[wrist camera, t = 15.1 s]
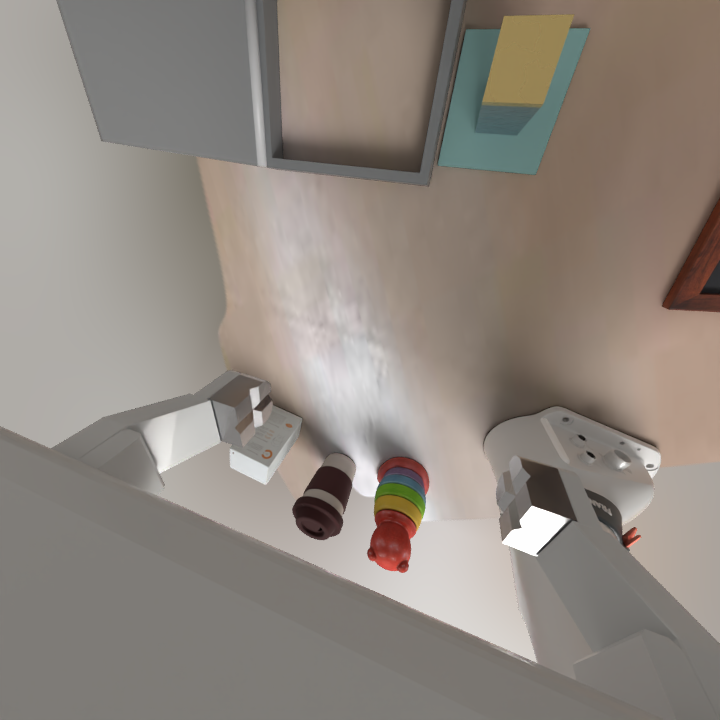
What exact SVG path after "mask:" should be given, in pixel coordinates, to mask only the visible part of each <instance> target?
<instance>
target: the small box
mask: <svg viewBox="0 0 720 720" xmlns="http://www.w3.org/2000/svg"><path fill="white" fill-rule="evenodd" d="M302 420H303V419H302V418H300V417H298V416H296V415H294V414H292V413H289V412H287V411H285V410H283V409H281V408H278V407H276V406H274V405H273V406H272V412H271V414H270V416H269V418H268V420H267V421H266V422H265V423H264V425H262V426H259V427H257V428H255V435H254V436H253V437H252V438H251V439H250V440H249V442H248V443H247V444H246V445H245V446H244V447H243V448H241V447H238V446H235V445H232V446H231V447H230V468H233V469H235V470H237V471H239V472H241V473H243V474H245V475H247V476H249V477H251V478H253V479H255V480H257V481H259V482H261V483H263V484H265V485H266V484H267V483H268V481H269V480H270V478H271V477H272V475H273V474H274V472H275V471H276V470H277V468H278V467H279V465H280V464H281V462H282V461H283V459H284V458H285V456H286V455H287V453H288V452H289V450H290V449H291V447H292V446H293V444H294V443H295V441H296V440H297V438H298V437H299V433H300V429H301V424H302Z"/></svg>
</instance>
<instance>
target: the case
mask: <svg viewBox="0 0 720 720" xmlns="http://www.w3.org/2000/svg"><path fill="white" fill-rule="evenodd" d="M466 2H467V0H452V1H451V6H450V12H449V17H448V23H447V28H446V33H445V39H444V44H443V50H442V55H441V61H440V66H439V72H438V77H437V82H436V88H435V93H434V99H433V104H432V110H431V115H430V121H429V126H428V132H427V137H426V142H425V148H424V153H423V159H422V164H421V170H420V173H415V172H405V171H396V170H386V169H376V168H366V167H356V166H347V165H337V164H327V163H317V162H307V161H298V160H288V159H283V147H282V121H281V96H280V71H279V45H278V20H277V0H57V4H58V7H59V10H60V13H61V16H62V19H63V22H64V26H65V29H66V32H67V35H68V38H69V41H70V44H71V48H72V51H73V54H74V57H75V60H76V63H77V66H78V69H79V72H80V76H81V79H82V82H83V85H84V88H85V91H86V94H87V97H88V101H89V103H90V107H91V110H92V113H93V116H94V119H95V122H96V126H97V129H98V132H99V135H100V138H101V141H103V142H110V143H116V144H122V145H128V146H135V147H141V148H147V149H153V150H160V151H166V152H172V153H178V154H184V155H191V156H197V157H203V158H209V159H216V160H222V161H228V162H234V163H240V164H247V165H253V166H259V167H267V168H272V169H277V170H286V171H295V172H304V173H313V174H322V175H331V176H340V177H349V178H358V179H367V180H376V181H385V182H394V183H403V184H412V185H420V186H429V184H430V179H431V174H432V170H433V165H434V160H435V155H436V150H437V145H438V140H439V135H440V130H441V125H442V120H443V115H444V110H445V106H446V101H447V96H448V91H449V86H450V81H451V76H452V71H453V66H454V61H455V56H456V51H457V46H458V41H459V37H460V32H461V27H462V22H463V17H464V12H465V7H466Z"/></svg>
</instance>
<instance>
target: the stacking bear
mask: <svg viewBox="0 0 720 720" xmlns="http://www.w3.org/2000/svg"><path fill="white" fill-rule="evenodd" d="M377 479H378V481H379V485H378V487H377V491H376V495H375V505H374V516H375V522H376V525H377V528H376V529H375V531H374V533H373V535H372V538H371V543H370V548H369V549H368V552H367V554H368V558H369V559H370V560H371V561H375V562H376V563H377V564H378V565H379V566H381V567H382V568H384V569H386V570H390V571H399V572H401V573H404V572H406V571H407V570H408V567H409V565H408V561H409V559H410V554H411V544H410V538H412V537H413V536H414V535H415V534H416V531H417V530H418V528H419V526H420V523H421V520H422V518H423V515H424V512H425V504H426V498H425V495H426V493H427V491H428V488H429V478H428V475H427V472H426V471H425V469H424V468H423V467H422V466H421V465H420V464H419V463H417V462H416V461H414V460H412V459H409V458H404V457H396V458H392V459H390V460H388V461H386V462H385V463H383V464H382V466H381V467H380V469H379V471H378V475H377Z"/></svg>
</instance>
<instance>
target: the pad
mask: <svg viewBox="0 0 720 720" xmlns="http://www.w3.org/2000/svg"><path fill="white" fill-rule="evenodd" d="M500 30H501V29H466V33H465V37H464V42H463V47H462V52H461V56H460V61H459V66H458V71H457V75H456V80H455V85H454V90H453V94H452V99H451V104H450V109H449V114H448V118H447V123H446V128H445V133H444V137H443V142H442V147H441V152H440V156H439V161H438V166H446V167H457V168H467V169H478V170H489V171H499V172H510V173H520V174H531V175H536V173H537V170H538V167H539V165H540V162H541V159H542V157H543V154H544V151H545V149H546V146H547V143H548V141H549V138H550V135H551V133H552V130H553V127H554V125H555V122H556V119H557V116H558V114H559V111H560V108H561V106H562V103H563V100H564V98H565V95H566V92H567V90H568V87H569V84H570V82H571V79H572V76H573V74H574V71H575V68H576V66H577V63H578V60H579V58H580V55H581V52H582V50H583V47H584V44H585V42H586V39H587V36H588V34H589V31H590V28H569V31H568V34H567V37H566V40H565V43H564V46H563V49H562V52H561V55H560V58H559V60H558V63H557V66H556V69H555V72H554V75H553V78H552V81H551V84H550V87H549V89H548V92H547V95H546V98H545V101H544V104H543V105H542V106H541V108H540V109H539V110H538V111H537V112H536V113H535V115H534V116H533V117H532V118H531V119H530V121H529V122H528V123H527V124H526V125H525V126H524V128H523V129H522V130H521V131H520V132H519V133H518V135H517V136H515V135H500V134H484V133H475V130H476V126H477V122H478V118H479V113H480V109H481V105H482V101H483V97H484V93H485V89H486V85H487V81H488V77H489V73H490V69H491V65H492V61H493V57H494V53H495V49H496V45H497V42H498V38H499V34H500Z"/></svg>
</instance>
